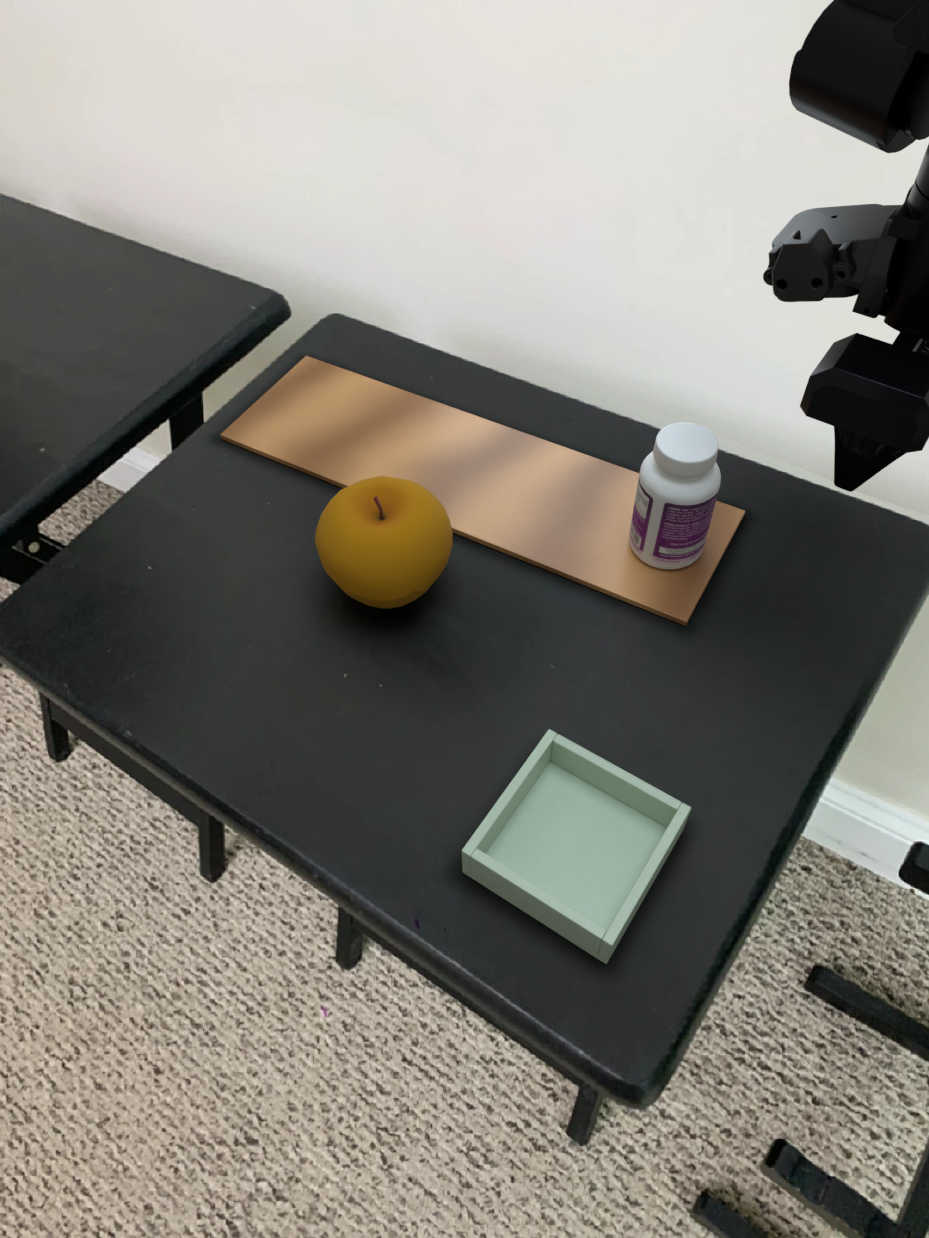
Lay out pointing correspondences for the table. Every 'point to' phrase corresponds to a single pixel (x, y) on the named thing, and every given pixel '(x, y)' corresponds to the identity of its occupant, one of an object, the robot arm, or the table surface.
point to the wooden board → (478, 480)
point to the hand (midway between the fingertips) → (870, 443)
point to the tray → (575, 843)
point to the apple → (384, 540)
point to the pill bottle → (675, 496)
